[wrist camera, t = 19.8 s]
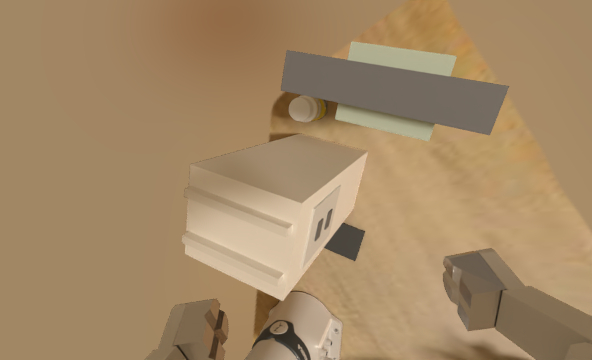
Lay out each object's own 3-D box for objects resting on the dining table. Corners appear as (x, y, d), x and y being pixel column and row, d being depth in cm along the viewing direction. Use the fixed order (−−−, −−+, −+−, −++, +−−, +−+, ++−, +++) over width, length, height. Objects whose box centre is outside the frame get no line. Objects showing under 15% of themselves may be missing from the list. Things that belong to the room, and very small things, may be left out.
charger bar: (502, 86, 27) (509, 86, 24) (485, 131, 28) (489, 135, 26) (298, 53, 34) (286, 50, 31) (292, 90, 35) (280, 90, 32)
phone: (365, 230, 61) (364, 232, 61) (356, 258, 64) (355, 261, 63) (303, 205, 66) (301, 207, 65) (297, 233, 69) (295, 235, 68)
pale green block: (449, 72, 48) (456, 56, 28) (433, 122, 51) (428, 141, 30) (386, 62, 52) (351, 41, 31) (374, 109, 54) (334, 119, 34)
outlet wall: (370, 151, 57) (301, 208, 28) (355, 209, 61) (281, 309, 32) (300, 133, 62) (182, 166, 33) (290, 187, 66) (177, 258, 37)
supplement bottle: (301, 114, 60) (282, 116, 53) (310, 90, 59) (291, 90, 51) (322, 123, 59) (306, 127, 52) (332, 100, 57) (316, 101, 50)
